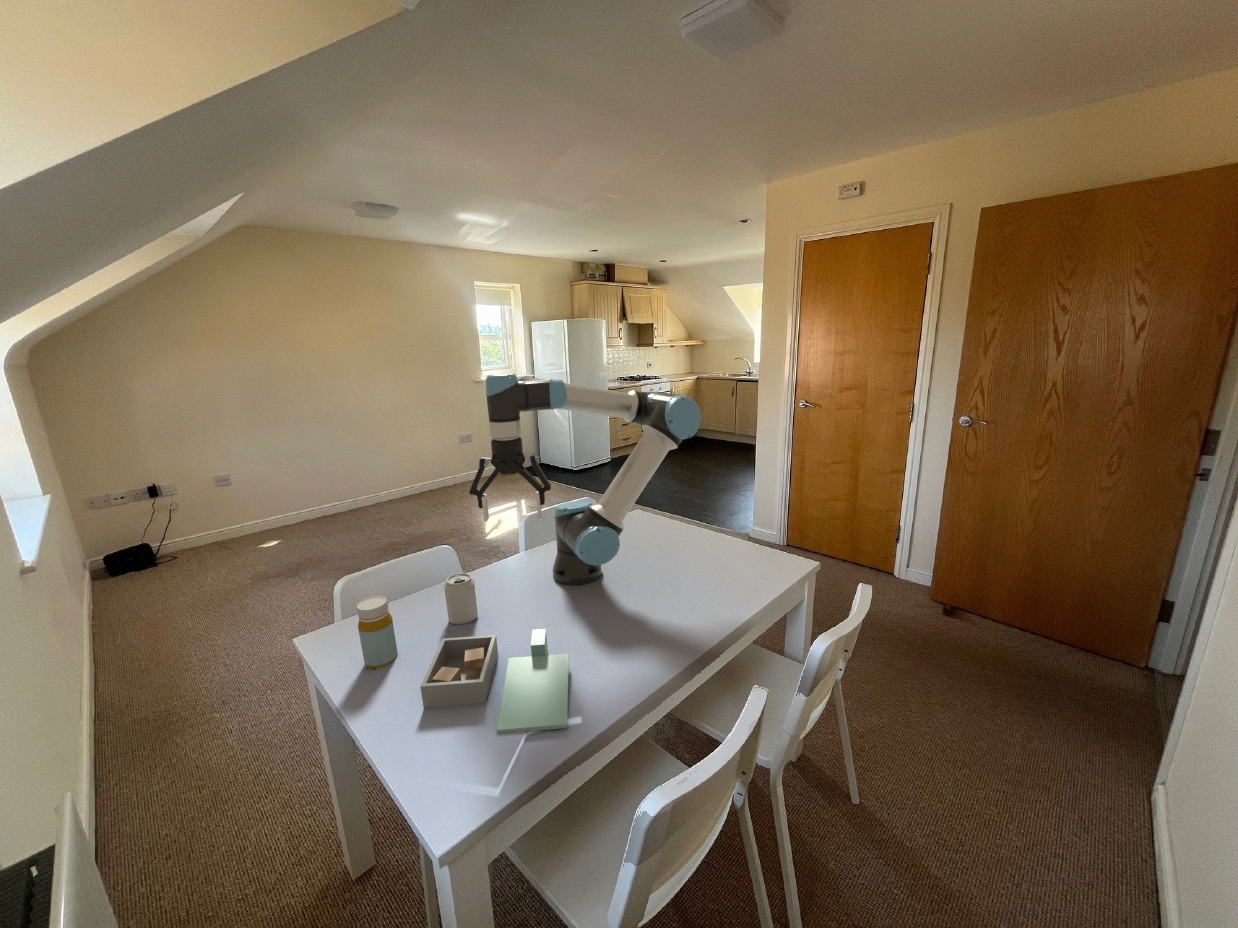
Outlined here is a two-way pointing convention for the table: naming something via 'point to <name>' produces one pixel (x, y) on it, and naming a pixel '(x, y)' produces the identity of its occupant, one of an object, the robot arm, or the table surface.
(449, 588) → the can
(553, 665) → the lid
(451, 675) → the block
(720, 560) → the table surface
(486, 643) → the tub
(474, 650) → the block
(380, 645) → the bottle
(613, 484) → the robot arm
